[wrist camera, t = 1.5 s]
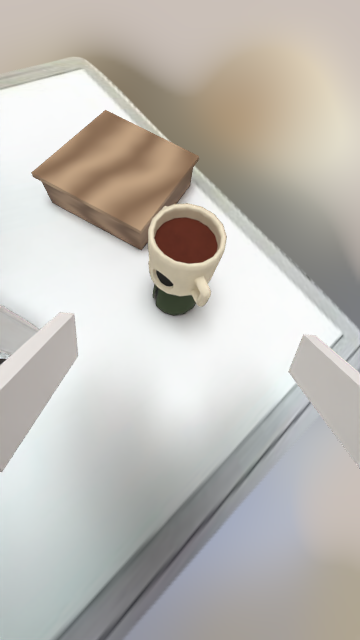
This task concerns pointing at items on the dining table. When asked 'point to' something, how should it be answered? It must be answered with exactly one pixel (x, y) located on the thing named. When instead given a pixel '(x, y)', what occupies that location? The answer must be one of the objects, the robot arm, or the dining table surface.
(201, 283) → the character mug
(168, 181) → the walnut stand
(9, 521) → the dining table surface
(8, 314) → the photo printer
